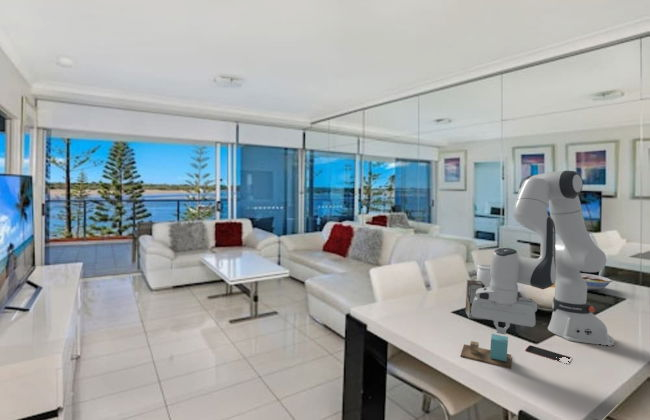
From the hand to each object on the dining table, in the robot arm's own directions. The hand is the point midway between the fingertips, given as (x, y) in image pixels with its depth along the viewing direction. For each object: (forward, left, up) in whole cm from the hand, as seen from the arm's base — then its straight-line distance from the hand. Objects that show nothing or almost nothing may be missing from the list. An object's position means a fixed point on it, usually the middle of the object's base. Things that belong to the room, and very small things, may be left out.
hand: (501, 333), depth 124 cm
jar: (+10, -90, -10) cm, 91 cm away
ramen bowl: (-45, -132, -10) cm, 140 cm away
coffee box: (+12, -42, -10) cm, 45 cm away
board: (+4, 0, -10) cm, 11 cm away
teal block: (0, 0, -9) cm, 9 cm away
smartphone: (-16, -14, -10) cm, 23 cm away
